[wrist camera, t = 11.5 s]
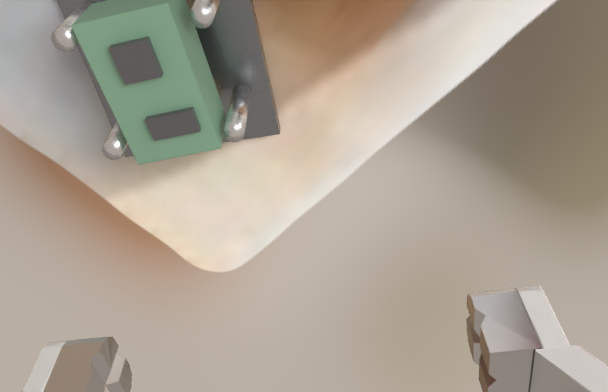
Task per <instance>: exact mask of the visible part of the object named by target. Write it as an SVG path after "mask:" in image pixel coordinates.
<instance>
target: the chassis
mask: <svg viewBox="0 0 608 392" xmlns="http://www.w3.org/2000/svg"><path fill="white" fill-rule="evenodd" d="M102 1H106V0H58V2H59V4H60V6H61V9H62V11H63V13H64V16H65V18H66V20H65V21H64V22H63V23H62V24H61V25H60V26H59V27H58V28H57V29H56V30H55V31H54V32H53V33H52V42H53V44H54V45H55V46H56V47H57V48H58V49H60V50H62V51H71V50H72V49H74V47H75V46H76V45H77V46H78V48H79V50H80V53H81V55H82V57H83V60H84V62H85V64H86V67H87V69H88V71H89V74H90V76H91V78H92V81H93V83H94V85H95V88H96V90H97V92H98V95H99V97H100V99H101V102H102V104H103V106H104V109H105V111H106V113H107V116H108V118H109V120H110V123H111V125H112V127H113V129H112V131H111V133H110V134H109V136H108V138H107V140H106V142H105V144H104V145H103V148H102V151H103V154H104V155H105V156H106V157H107V158H109V159H113V160H117V159H119V158H121V157H122V155H123V153H124V155H125V157H127V156H134V155H133V153H132V151H131V149H130V147H129V144H128V142H127V140H126V138H125V136H124V134H123V132H122V130H121V128H120V126H119V124H118V122H117V120H116V118H115V116H114V114H113V111H112V109H111V107H110V105H109V103H108V101H107V99H106V97H105V95H104V93H103V91H102V89H101V87H100V85H99V83H98V81H97V78H96V76H95V74H94V72H93V70H92V68H91V66H90V64H89V62H88V60H87V58H86V56H85V54H84V52H83V50H82V48H81V46H80V43H79V41H78V39H77V37H76V35H75V33H74V31H73V29H72V27H71V25H72V24H73V23H74V22H75V21H76V20H77V19H78V18H79V17H80V16H81V15H82V14H83V12H84V11H85V10H86V9H87V8H88V7H89V6H90V5H91V4H94V3H98V2H102ZM186 2H187V5H188V7H189V10H190V14H189V17H190V20H191V22H192V23H193V25H195V28H196V30H197V33H198V36H199V39H200V42H201V45H202V48H203V51H204V53H205V56H206V59H207V62H208V65H209V68H210V71H211V74H212V76H213V79H214V82H215V85H216V88H217V91H218V94H219V96H220V99H221V102H222V105H223V108H224V111H225V114H226V117H227V118H226V123H225V127H224V138H223V142H229V141H232V142H238V141H240V140H242V139H249V138H256V137H262V136H269V135H276V134H280V124H279V120H278V115H277V110H276V106H275V101H274V97H273V92H272V88H271V83H270V79H269V74H268V70H267V65H266V61H265V56H264V52H263V47H262V42H261V38H260V33H259V29H258V24H257V20H256V15H255V11H254V6H253V2H252V0H186Z"/></svg>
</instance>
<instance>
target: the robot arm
mask: <svg viewBox="0 0 608 392" xmlns="http://www.w3.org/2000/svg"><path fill="white" fill-rule="evenodd" d="M467 308H468V311H469V314H470V316H469V317H468V318H467V335H468V342H469V347H470V351H471V354H472V358H473V361H474V362H475V363H476V364H478V365H479V381H480V384H481V388H482V391H483V392H608V366H607V365H605V364H604V363H603V362H601V361H600V360H598V359H597V358H595V357H594V356H593V355H591V354H590V353H588V352H587V351H585V350H584V349H582V348H581V347H579V346H578V345H572V346H570V344H569V342H568V340H567V338H566V336H565V334H564V332H563V330H562V328H561V326H560V324H559V322H558V320H557V318H556V316H555V314H554V312H553V309H552V307H551V305H550V303H549V302H548V299H547V297H546V295H545V293H544V291H543V289H542V288H541V287H540V286H539V285H536V286H528V287H519V288H509V289H501V290H493V291H485V292H478V293H470V294H468V296H467ZM117 349H118V344H117V343H116V341H115V340H114V338H113V337H102V338H91V339H79V340H68V341H60V342H50V343H47V344H46V345H45V346H44V347H43V348H42V350H41V352H40V354H39V356H38V358H37V360H36V362H35V365H34V367H33V369H32V371H31V373H30V375H29V377H28V380H27V382H26V384H25V386H24V388H23V390H22V392H130V389H131V380H132V377H131V376H132V373H131V369H130V365H129V363H128V361H127V360H126V358H125V357H123V356H121V355H120V354H118V353H117Z"/></svg>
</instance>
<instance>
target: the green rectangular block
mask: <svg viewBox="0 0 608 392" xmlns="http://www.w3.org/2000/svg"><path fill="white" fill-rule="evenodd" d="M189 14H190V10H189V7H188V5H187V2H186V0H106V1H102V2H98V3H94V4H91V5H90V6H89V7H88V8H87V9H86V10H85V11H84V12H83V14H82V15H81V16H80V17H79V18H78V19H77V20H76V21H75V22H74V23H73V24H72V25H71V27H72V29H73V31H74V33H75V35H76V37H77V39H78V41H79V43H80V46H81V48H82V50H83V52H84V54H85V56H86V58H87V60H88V62H89V64H90V66H91V68H92V70H93V72H94V74H95V76H96V78H97V81H98V83H99V85H100V87H101V89H102V91H103V93H104V95H105V97H106V99H107V101H108V103H109V105H110V107H111V109H112V111H113V114H114V116H115V118H116V120H117V122H118V124H119V126H120V128H121V130H122V132H123V134H124V136H125V138H126V140H127V142H128V144H129V147H130V149H131V151H132V153H133V155H134V157H135V159H136V161H137V163H138V165H139V164H144V163H150V162H155V161H160V160H165V159H170V158H175V157H180V156H185V155H190V154H195V153H200V152H205V151H210V150H215V149H220V148H221V147H222V143H223V138H224V127H225V123H226V118H227V117H226V114H225V111H224V108H223V105H222V102H221V99H220V96H219V94H218V91H217V88H216V85H215V82H214V79H213V76H212V74H211V71H210V68H209V65H208V62H207V59H206V56H205V53H204V51H203V48H202V45H201V42H200V39H199V36H198V33H197V30H196V28H195V25H193V23H192V22H191V20H190V17H189Z"/></svg>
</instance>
